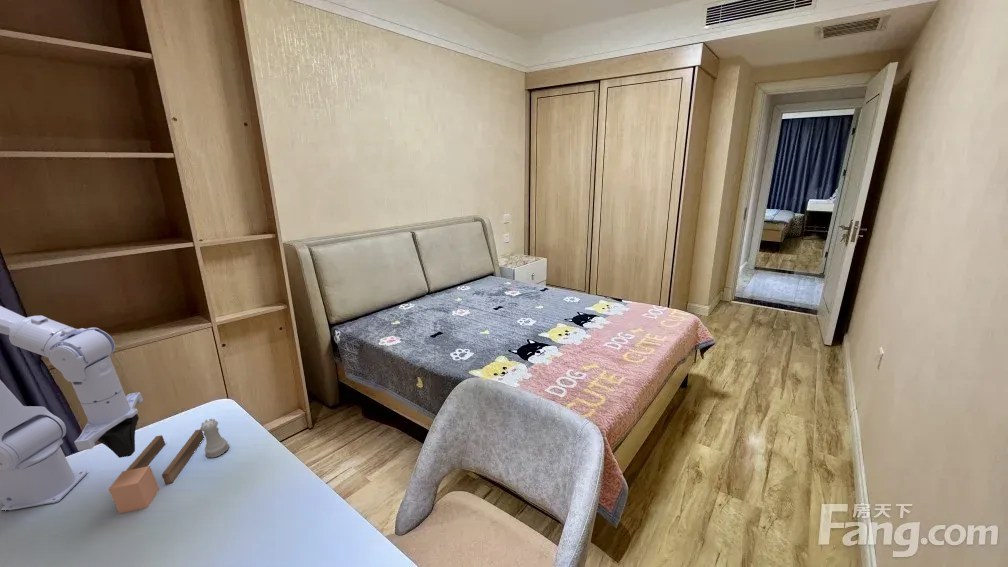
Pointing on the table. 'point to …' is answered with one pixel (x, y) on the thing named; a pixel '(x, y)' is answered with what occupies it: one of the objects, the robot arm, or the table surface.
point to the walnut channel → (177, 462)
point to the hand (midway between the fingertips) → (127, 454)
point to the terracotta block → (134, 489)
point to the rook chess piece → (213, 439)
